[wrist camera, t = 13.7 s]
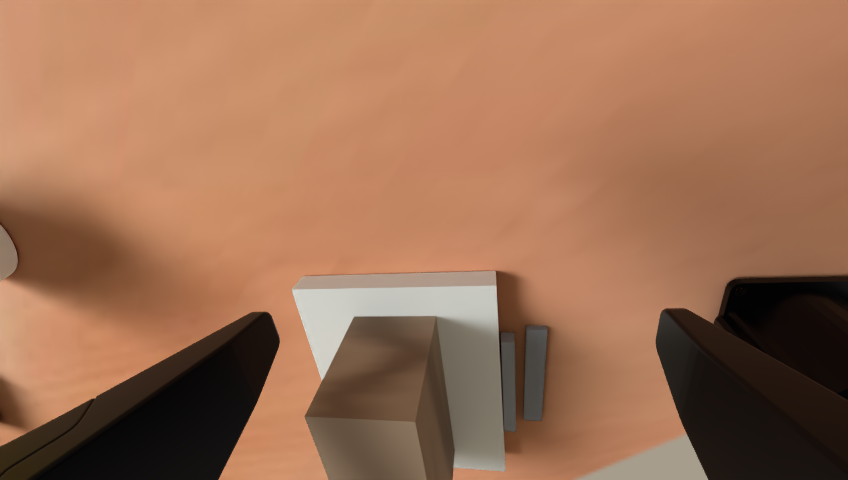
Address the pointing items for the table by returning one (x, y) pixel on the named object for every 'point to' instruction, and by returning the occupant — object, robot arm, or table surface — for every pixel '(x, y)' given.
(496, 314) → the board
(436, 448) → the block
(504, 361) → the long grey stick
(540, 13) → the table surface
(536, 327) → the pencil mark
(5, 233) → the cup
